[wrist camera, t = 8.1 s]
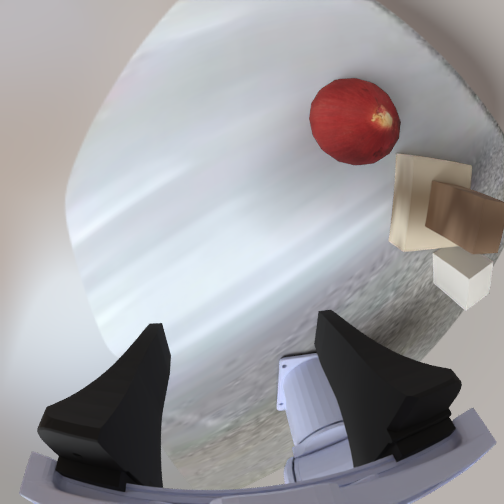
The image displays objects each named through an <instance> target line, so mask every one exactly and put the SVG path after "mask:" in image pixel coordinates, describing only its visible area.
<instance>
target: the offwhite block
mask: <svg viewBox="0 0 504 504" xmlns="http://www.w3.org/2000/svg"><path fill="white" fill-rule="evenodd" d="M492 269H493V261H492V260H490V259H489V258H487V257H485V256H484V255H482V254H471V253H469V252H468V251H466V250H464V249H463V248H461V247H460V246H455V247H446V248H441V249H439V250H437V251H436V252H434V253H433V280H434V284H435V285H436V286H437V287H439V288H440V289H441V290H442V291H443V292H444V293H446V294H447V295H448V296H449V297H450V298H451V299H453V300H454V301H455V302H456V303H457V304H458V305H459V306H460V307H462V308H463V309H464V310H465V311H467V310H468V309H469V308H471V307H472V306H473V305H475V304H476V303H477V302H479V301H480V300H481V299H483V298H484V297H485V296H486V295H488V294H489V291H490V285H491V277H492Z"/></svg>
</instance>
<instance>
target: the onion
mask: <svg viewBox="0 0 504 504" xmlns="http://www.w3.org/2000/svg"><path fill="white" fill-rule="evenodd" d="M309 120H310V124H311V129H312V134H313V136H314V138H315V139H316V141H317V143H318V144H319V146H320V147H321V149H322V150H323V151H324V152H326V153H327V154H329V155H330V156H332V157H333V158H334V159H336V160H337V161H339V162H343V163H347V164H352V165H364V164H372V163H375V162H377V161H378V160H380V159H382V158H383V157H385V156H386V155H388V154H390V152H391V151H392V149H393V147H394V145H395V144H396V142H397V140H398V139H399V132H400V123H401V122H400V119H399V116H398V113H397V110H396V108H395V106H394V104H393V102H392V101H391V99H390V97H389V96H388V94H387V93H385V92H384V91H383V90H382V89H380V88H379V87H378V86H377V85H375V84H374V83H371V82H367V81H364V80H361V79H356V78H350V79H338V80H334V81H333V82H331V83H330V84H328V85H326V86H325V87H323V88H322V89H321V90H320V91H319V92H318V93H317V95H316V97H315V98H314V100H313V102H312V103H311V110H310V117H309Z"/></svg>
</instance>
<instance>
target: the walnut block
mask: <svg viewBox="0 0 504 504" xmlns="http://www.w3.org/2000/svg"><path fill="white" fill-rule="evenodd" d="M425 227H427V228H429V229H430V230H432V231H434V232H436V233H437V234H439V235H441V236H443V237H444V238H446V239H448V240H450V241H451V242H453V243H455V244H456V245H458V246H460V247H461V248H463V249H464V250H466V251H468V252H469V253H471V254H486V253H498V249H499V245H500V241H501V237H502V233H503V229H504V202H503V201H500V200H498V199H495V198H493V197H490V196H487V195H485V194H482V193H479V192H477V191H474V190H471V189H468V188H465V187H462V186H459V185H454V184H449V183H444V182H438V181H433V180H432V184H431V192H430V199H429V205H428V211H427V217H426V223H425Z"/></svg>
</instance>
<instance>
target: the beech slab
mask: <svg viewBox="0 0 504 504" xmlns="http://www.w3.org/2000/svg"><path fill="white" fill-rule="evenodd" d="M471 175H472V166H471V165H467V164H462V163H458V162H453V161H448V160H442V159H436V158H429V157H423V156H415V155H408V154H399V153H396V165H395V184H394V197H393V208H392V218H391V226H390V234H389V242H390V243H392V244H393V245H395V246H396V247H397V248H399V249H400V250H402V251H403V252H407V251H417V250H427V249H437V248H446V247H455V246H458V245H456V244H455V243H453V242H451V241H450V240H448V239H446V238H444V237H443V236H441V235H439V234H437V233H436V232H434V231H432V230H430V229H429V228H427V227H425V223H426V217H427V211H428V205H429V199H430V192H431V184H432V180H433V181H438V182H444V183H449V184H454V185H459V186H462V187H465V188H468V189H470V186H471Z"/></svg>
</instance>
